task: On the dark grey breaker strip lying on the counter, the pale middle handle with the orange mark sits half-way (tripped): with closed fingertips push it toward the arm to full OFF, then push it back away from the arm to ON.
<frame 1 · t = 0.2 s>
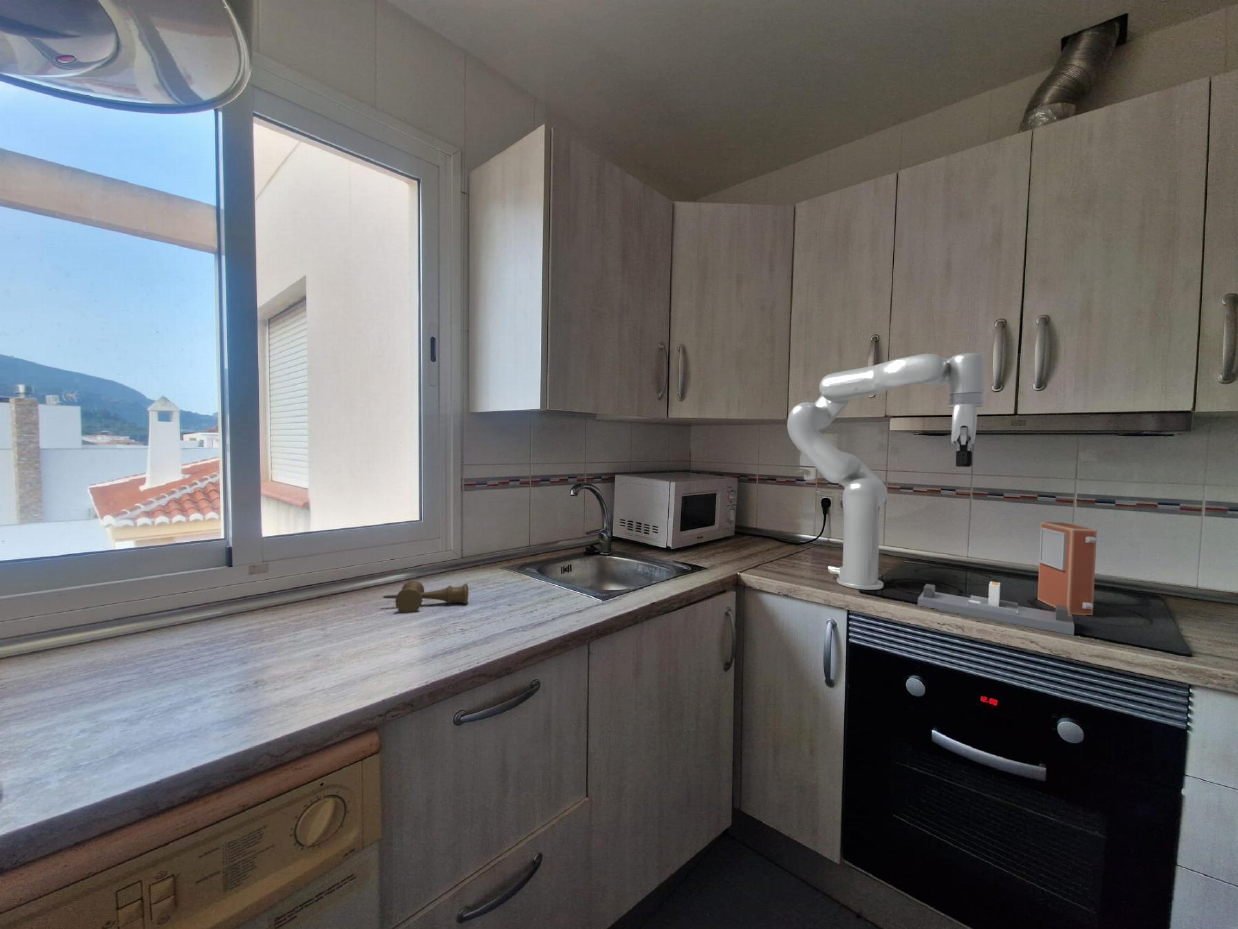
hand: (963, 466, 133), 36 cm above the worktop, tool pointing down, fingers open, 9 cm apart
orange rectangular block: (1063, 608, 130), on the worktop
breaker handle: (994, 594, 124), point 5 cm above the worktop, slide at 4.0 cm
kendama: (426, 607, 125), on the worktop
breaker strip: (990, 614, 124), on the worktop
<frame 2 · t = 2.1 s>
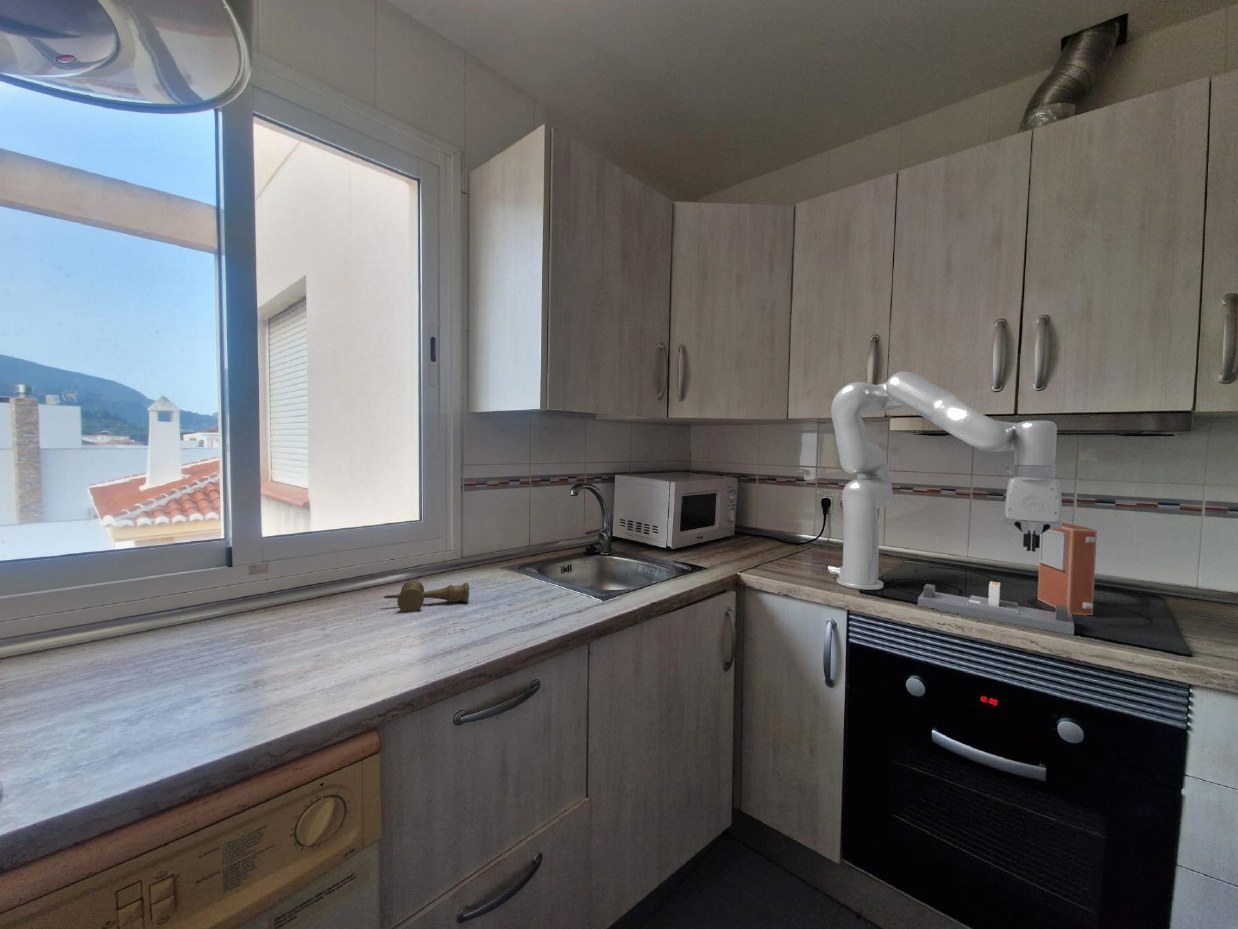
hand: (1031, 550, 119), 17 cm above the worktop, tool pointing down, fingers closed
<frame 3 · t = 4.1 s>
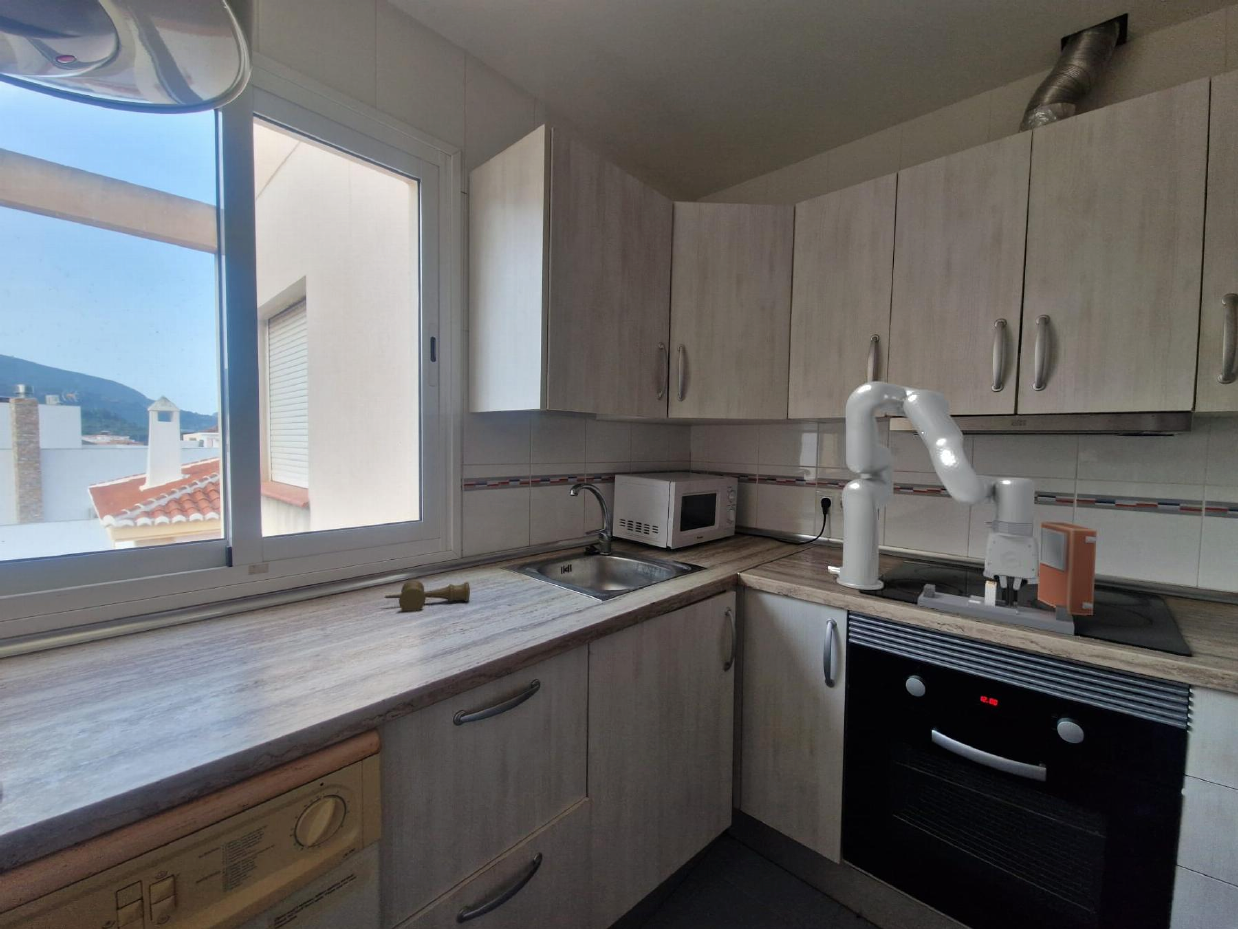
hand: (1009, 603, 122), 3 cm above the worktop, tool pointing down, fingers closed
breaker handle: (990, 593, 124), point 5 cm above the worktop, slide at 3.3 cm, touching gripper
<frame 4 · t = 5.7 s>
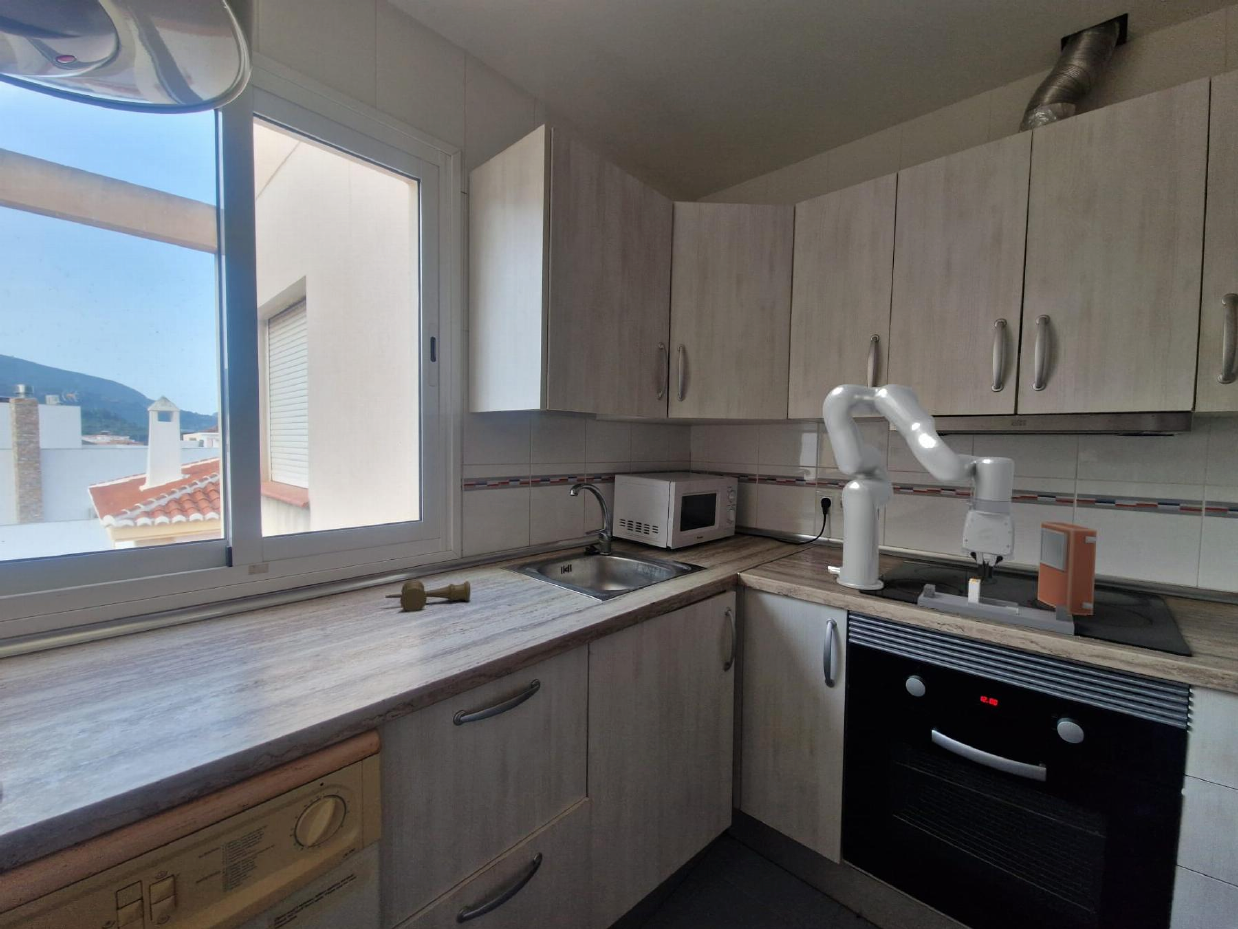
hand: (984, 579, 125), 8 cm above the worktop, tool pointing down, fingers closed
breaker handle: (974, 591, 126), point 5 cm above the worktop, slide at 0.0 cm
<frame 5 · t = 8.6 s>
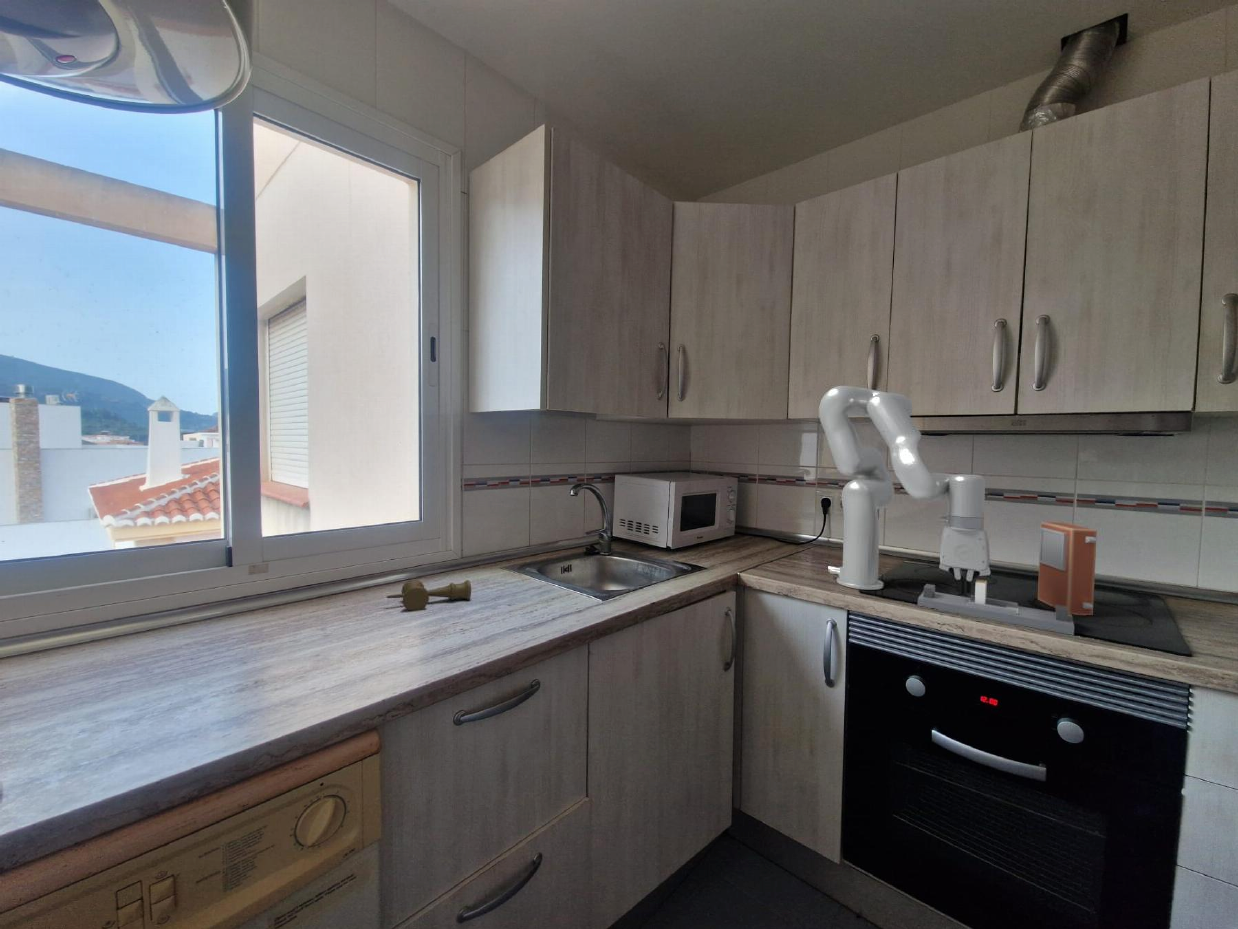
hand: (963, 595, 127), 4 cm above the worktop, tool pointing down, fingers closed
breaker handle: (980, 592, 125), point 5 cm above the worktop, slide at 1.3 cm, touching gripper
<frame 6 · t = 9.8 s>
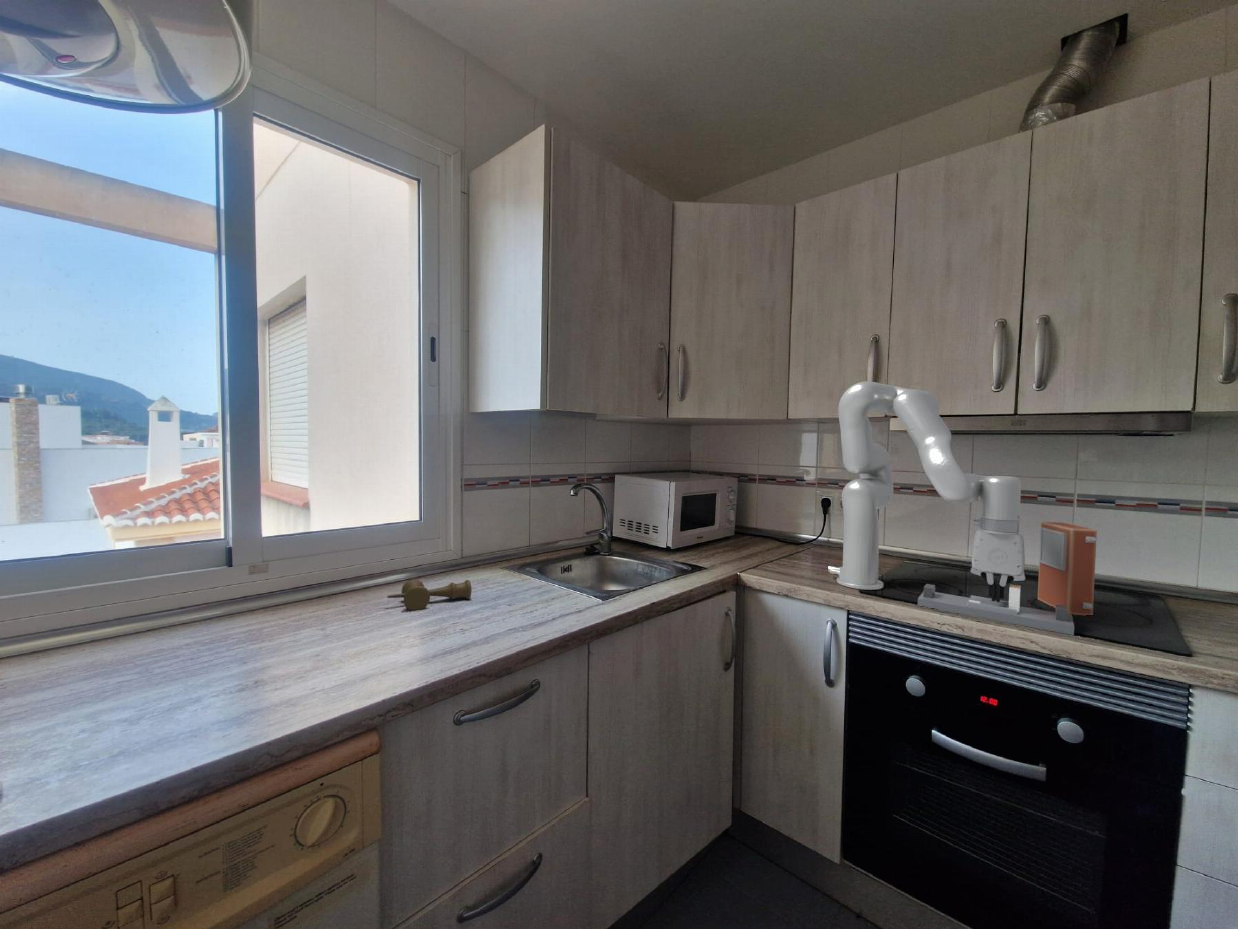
hand: (996, 600, 123), 4 cm above the worktop, tool pointing down, fingers closed
breaker handle: (1014, 597, 121), point 5 cm above the worktop, slide at 7.9 cm, touching gripper
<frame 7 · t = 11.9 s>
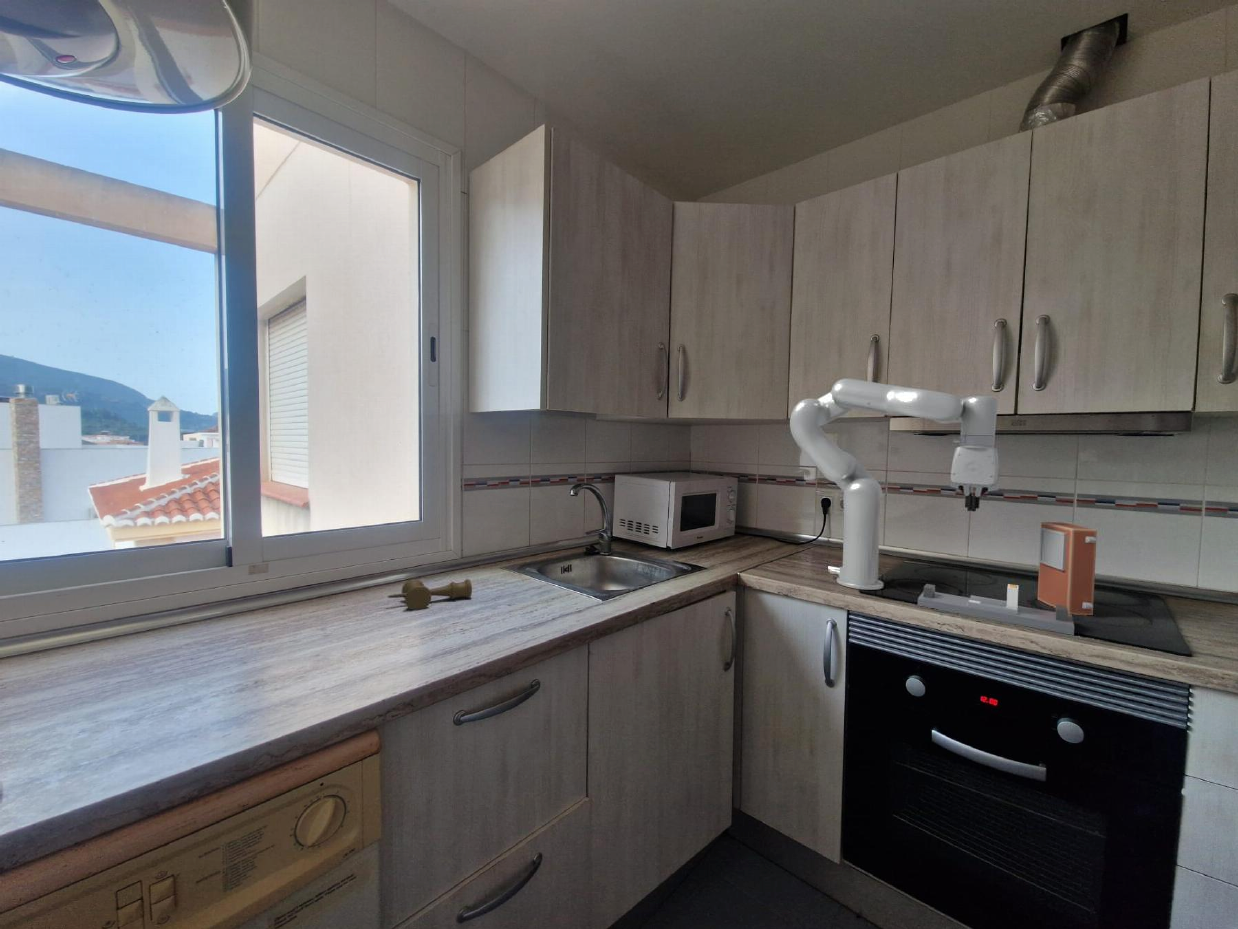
hand: (971, 510, 135), 24 cm above the worktop, tool pointing down, fingers closed
breaker handle: (1012, 597, 121), point 5 cm above the worktop, slide at 7.5 cm
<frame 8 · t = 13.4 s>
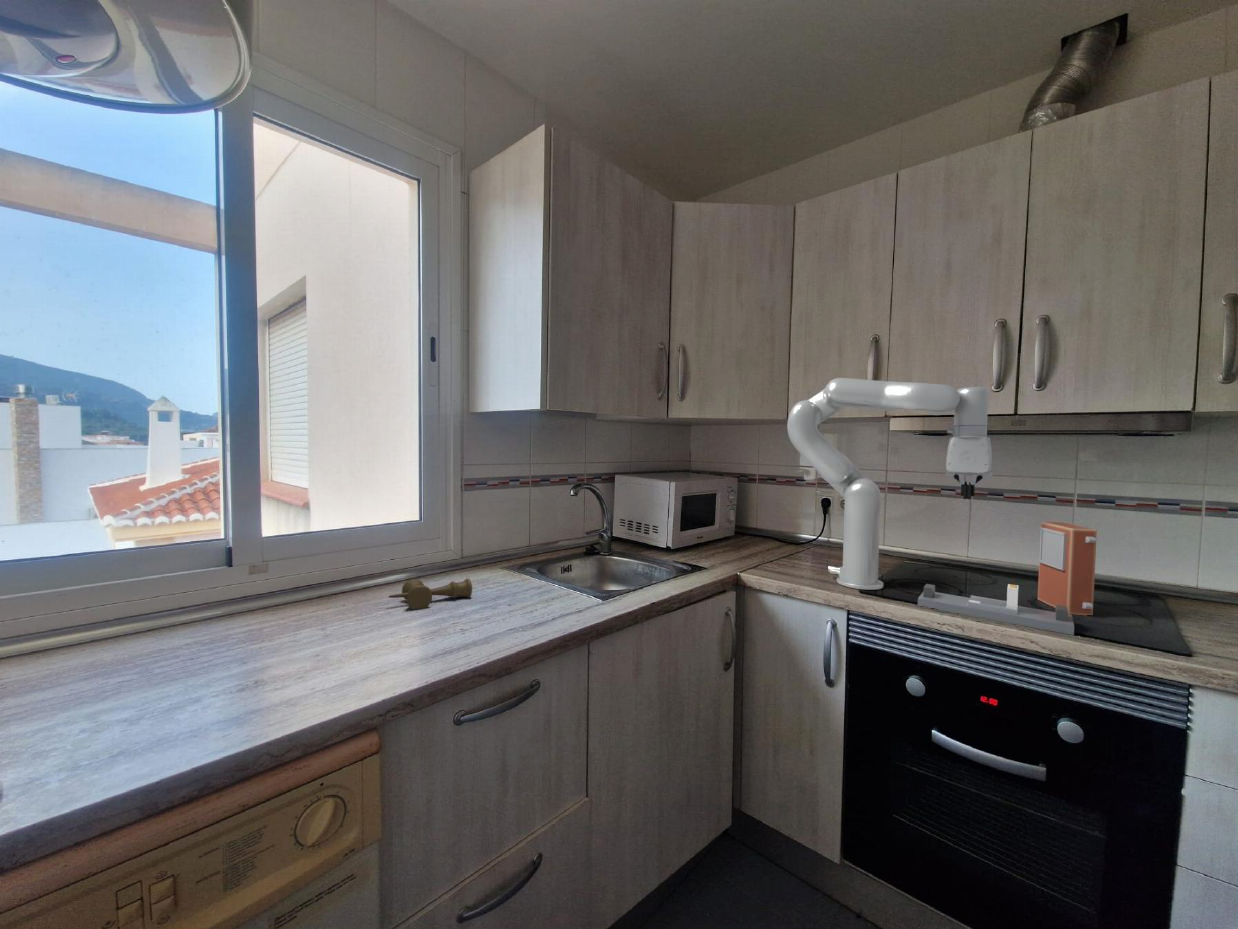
hand: (967, 498, 139), 27 cm above the worktop, tool pointing down, fingers closed
at the end: breaker handle slide at 7.5 cm; breaker handle touching nothing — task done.
